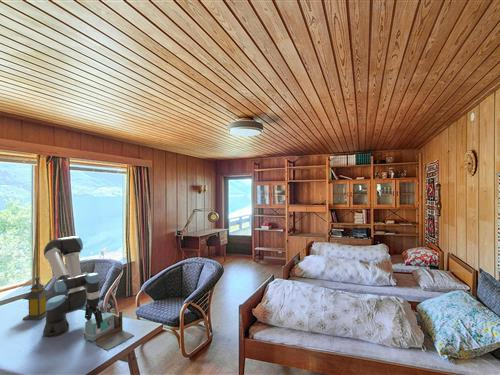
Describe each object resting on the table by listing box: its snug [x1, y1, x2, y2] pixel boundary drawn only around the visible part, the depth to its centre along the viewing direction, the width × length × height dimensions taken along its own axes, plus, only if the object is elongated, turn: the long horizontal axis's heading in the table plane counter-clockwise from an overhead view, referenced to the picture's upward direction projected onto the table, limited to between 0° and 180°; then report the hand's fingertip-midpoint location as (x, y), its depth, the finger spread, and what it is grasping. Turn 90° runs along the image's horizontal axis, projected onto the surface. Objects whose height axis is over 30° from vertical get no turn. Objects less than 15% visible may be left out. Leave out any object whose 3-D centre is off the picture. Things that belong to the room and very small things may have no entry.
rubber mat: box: [95, 330, 135, 352], centre depth 183 cm, size 12×19×1 cm, turn 151°
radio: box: [84, 304, 115, 342], centre depth 188 cm, size 16×9×20 cm, turn 153°
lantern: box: [22, 276, 52, 321], centre depth 216 cm, size 14×14×30 cm
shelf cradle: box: [83, 306, 124, 344], centre depth 191 cm, size 15×18×14 cm
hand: (93, 331), depth 184 cm, fingers closed on radio, 9 cm apart
